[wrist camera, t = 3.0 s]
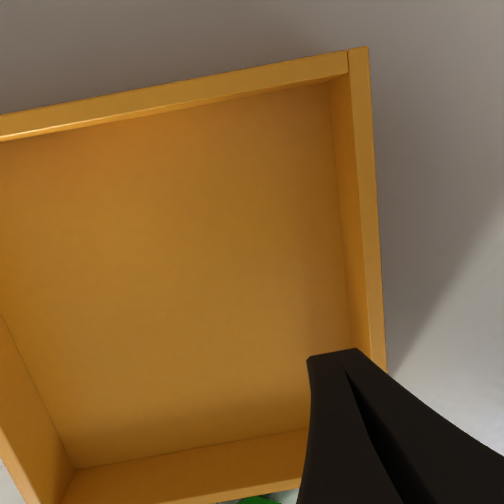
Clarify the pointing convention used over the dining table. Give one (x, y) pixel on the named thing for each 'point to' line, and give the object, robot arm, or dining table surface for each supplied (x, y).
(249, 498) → the polyhedron
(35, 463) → the tray
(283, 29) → the dining table surface
